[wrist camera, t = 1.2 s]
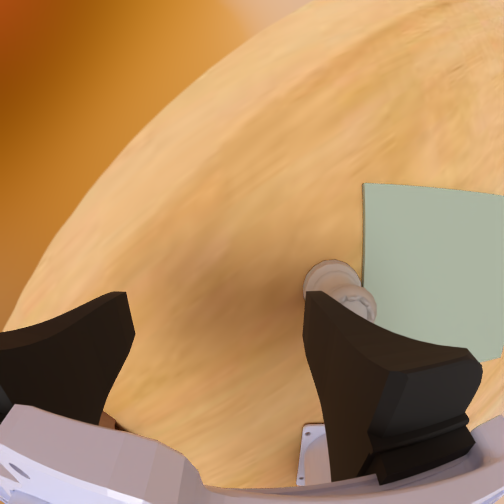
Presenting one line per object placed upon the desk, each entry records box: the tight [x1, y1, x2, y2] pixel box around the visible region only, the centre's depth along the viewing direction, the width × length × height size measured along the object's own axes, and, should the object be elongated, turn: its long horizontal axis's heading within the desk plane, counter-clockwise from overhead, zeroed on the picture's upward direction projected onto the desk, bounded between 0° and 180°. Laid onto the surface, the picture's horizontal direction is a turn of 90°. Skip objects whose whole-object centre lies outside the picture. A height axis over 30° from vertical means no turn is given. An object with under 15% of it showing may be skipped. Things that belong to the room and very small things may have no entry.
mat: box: [362, 183, 504, 363], centre depth 21 cm, size 16×17×1 cm
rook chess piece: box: [303, 260, 377, 323], centre depth 18 cm, size 4×4×8 cm
